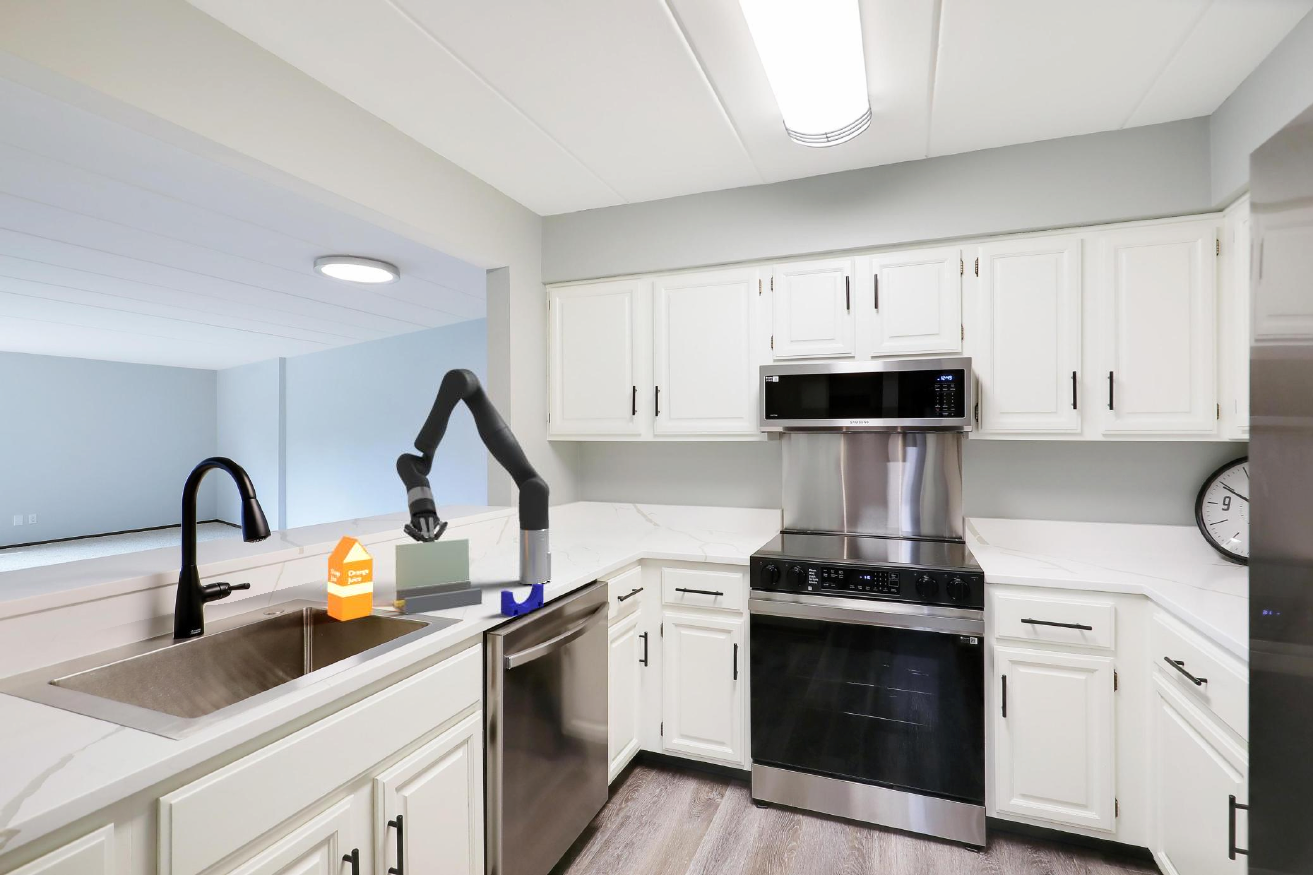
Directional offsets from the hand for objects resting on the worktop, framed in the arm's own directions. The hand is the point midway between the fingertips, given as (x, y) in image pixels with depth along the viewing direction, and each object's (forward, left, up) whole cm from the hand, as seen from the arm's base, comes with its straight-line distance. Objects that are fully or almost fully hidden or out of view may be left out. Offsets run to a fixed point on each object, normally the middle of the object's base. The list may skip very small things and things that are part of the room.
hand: (430, 550), depth 174 cm
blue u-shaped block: (-18, +29, -14) cm, 36 cm away
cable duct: (0, +10, -13) cm, 16 cm away
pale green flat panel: (0, +4, -3) cm, 5 cm away
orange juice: (+22, +8, -13) cm, 27 cm away
